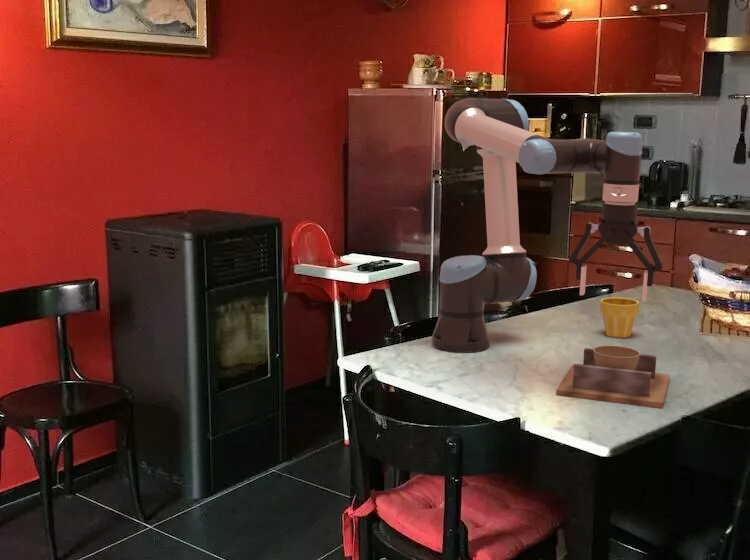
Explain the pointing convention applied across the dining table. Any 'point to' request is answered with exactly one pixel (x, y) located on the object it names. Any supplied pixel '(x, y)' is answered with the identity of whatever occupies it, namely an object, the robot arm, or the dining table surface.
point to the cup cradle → (616, 382)
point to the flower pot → (616, 357)
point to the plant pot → (619, 316)
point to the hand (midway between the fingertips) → (612, 297)
